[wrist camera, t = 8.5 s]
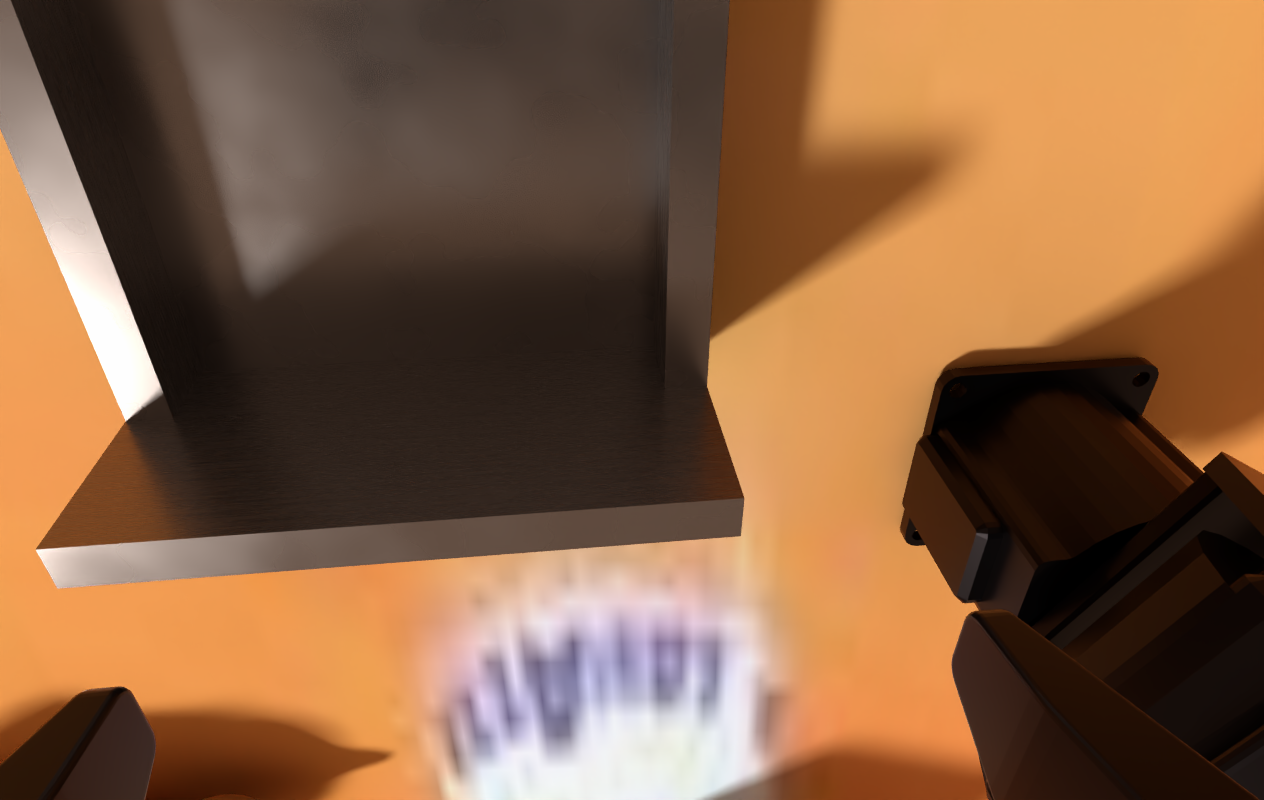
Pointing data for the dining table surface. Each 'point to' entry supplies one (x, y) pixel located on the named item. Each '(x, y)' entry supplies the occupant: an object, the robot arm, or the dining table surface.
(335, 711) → the dining table surface
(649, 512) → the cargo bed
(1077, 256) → the dining table surface
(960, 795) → the dining table surface
